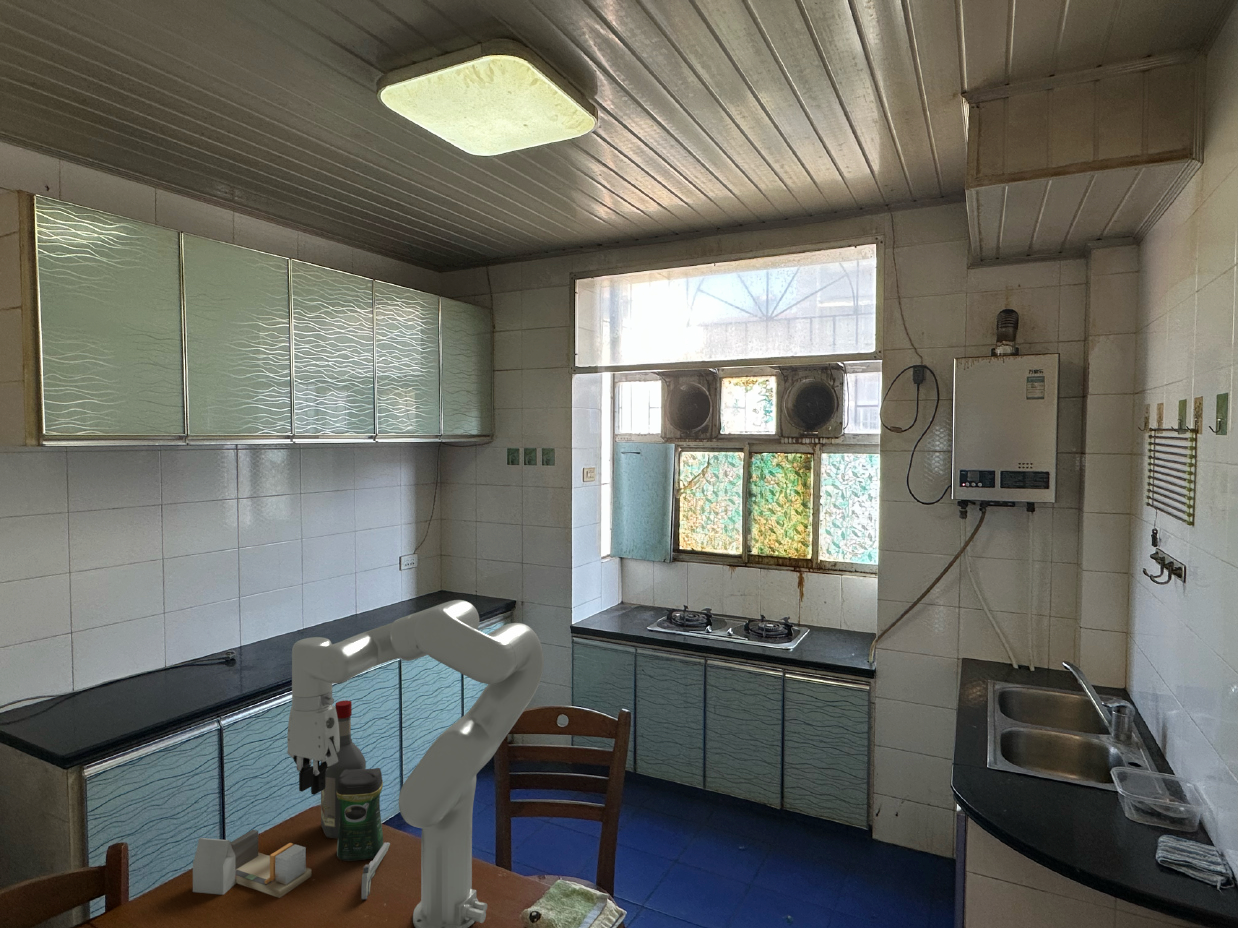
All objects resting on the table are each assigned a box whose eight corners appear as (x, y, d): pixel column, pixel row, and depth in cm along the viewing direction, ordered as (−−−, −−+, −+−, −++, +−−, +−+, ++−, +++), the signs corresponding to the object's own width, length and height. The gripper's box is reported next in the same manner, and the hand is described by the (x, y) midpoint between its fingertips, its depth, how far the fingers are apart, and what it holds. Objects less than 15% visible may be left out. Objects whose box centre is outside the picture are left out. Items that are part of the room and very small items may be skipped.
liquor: (359, 814, 175) (359, 693, 174) (367, 830, 167) (367, 705, 166) (319, 824, 170) (319, 700, 169) (326, 841, 162) (326, 712, 162)
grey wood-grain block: (305, 870, 148) (305, 847, 148) (286, 884, 143) (286, 859, 143) (295, 867, 149) (295, 844, 149) (275, 880, 144) (275, 856, 144)
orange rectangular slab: (293, 866, 149) (293, 843, 149) (267, 884, 143) (267, 859, 143) (289, 865, 149) (289, 842, 149) (263, 882, 143) (263, 858, 143)
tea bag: (223, 894, 143) (223, 845, 143) (192, 891, 144) (192, 843, 143) (235, 883, 146) (235, 835, 146) (205, 880, 147) (205, 833, 147)
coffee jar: (386, 841, 162) (386, 761, 162) (378, 861, 155) (378, 777, 154) (342, 843, 161) (342, 763, 161) (332, 863, 154) (332, 779, 153)
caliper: (366, 901, 141) (367, 870, 141) (361, 902, 141) (361, 870, 141) (390, 845, 162) (390, 817, 161) (385, 845, 161) (385, 818, 161)
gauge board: (311, 875, 149) (311, 843, 149) (279, 897, 142) (279, 863, 142) (256, 858, 155) (256, 827, 155) (224, 878, 148) (224, 845, 148)
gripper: (356, 699, 143) (356, 789, 144) (297, 689, 150) (297, 774, 150) (328, 712, 136) (328, 806, 137) (267, 700, 143) (267, 790, 143)
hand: (312, 789), depth 143 cm, fingers open, 2 cm apart
